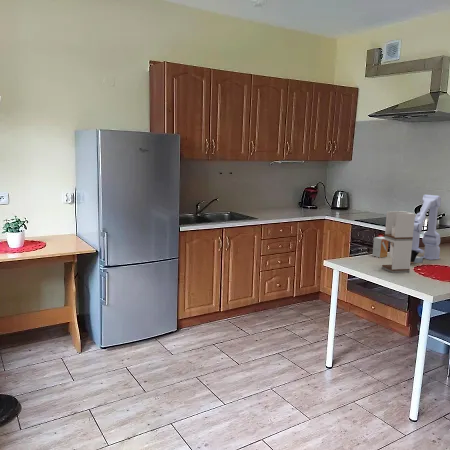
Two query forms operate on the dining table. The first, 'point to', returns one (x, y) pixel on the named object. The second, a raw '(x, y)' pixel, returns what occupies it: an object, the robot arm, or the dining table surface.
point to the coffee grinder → (399, 240)
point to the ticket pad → (418, 259)
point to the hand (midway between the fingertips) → (412, 261)
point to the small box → (380, 247)
